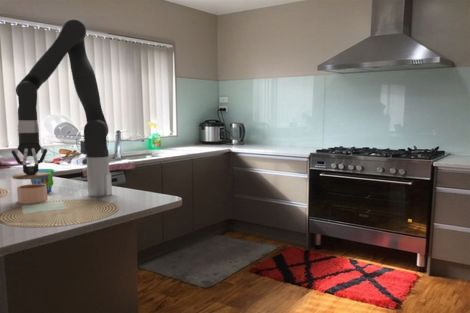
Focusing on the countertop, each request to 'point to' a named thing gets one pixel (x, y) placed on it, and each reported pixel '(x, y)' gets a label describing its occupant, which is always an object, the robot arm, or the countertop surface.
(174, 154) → the countertop surface
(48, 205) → the mat
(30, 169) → the lid
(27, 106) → the robot arm
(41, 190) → the bowl
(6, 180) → the countertop surface
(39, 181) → the snack cup
